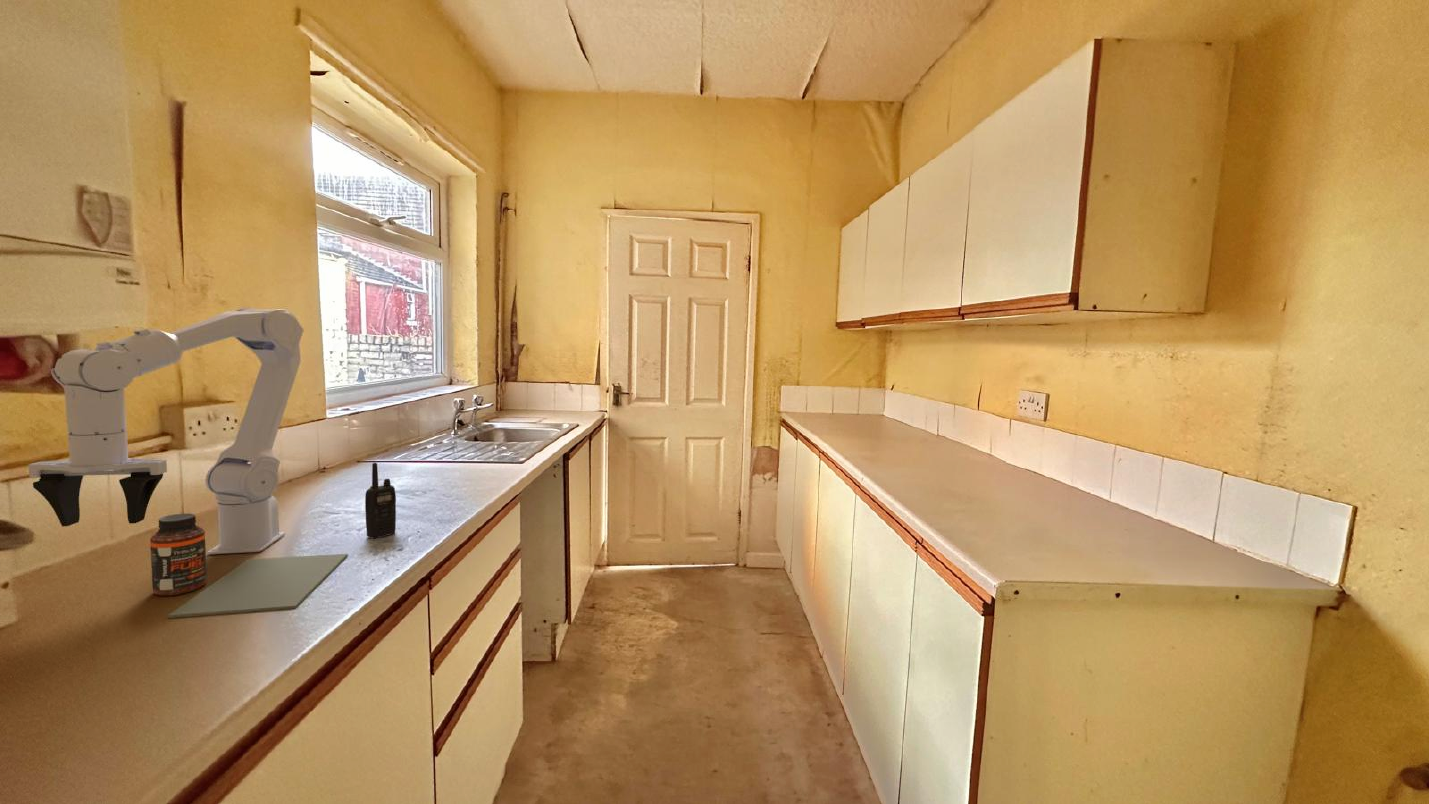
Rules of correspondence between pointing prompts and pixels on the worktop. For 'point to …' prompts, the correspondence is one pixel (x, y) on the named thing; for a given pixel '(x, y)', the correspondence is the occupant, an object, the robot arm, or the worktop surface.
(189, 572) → the supplement bottle
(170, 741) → the worktop surface
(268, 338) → the robot arm
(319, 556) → the mat
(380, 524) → the two-way radio
